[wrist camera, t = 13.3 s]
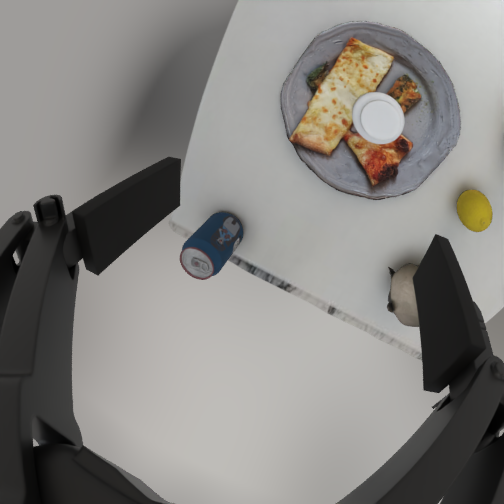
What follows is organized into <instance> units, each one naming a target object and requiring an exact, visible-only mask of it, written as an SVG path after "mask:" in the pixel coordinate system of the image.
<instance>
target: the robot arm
mask: <svg viewBox="0 0 504 504" xmlns="http://www.w3.org/2000/svg"><path fill="white" fill-rule="evenodd" d="M180 170H181V159H178V158H172V157H167V158H165V159H163V160H161V161H159V162H158V163H155V164H153V165H152V166H150V167H148V168H146V169H144V170H142V171H140V172H138V173H136V174H134V175H132V176H131V177H129V178H127V179H125V180H123V181H122V182H120V183H118V184H116V185H115V186H113V187H111V188H109V189H108V190H106V191H105V192H103V193H101V194H99V195H97V196H95V197H94V198H93V199H91V200H89V201H87V202H86V203H84V204H83V205H81V206H79V207H78V208H76V209H75V210H73V211H72V212H70V213H69V214H67V215H65V211H64V206H63V201H62V197H61V196H60V195H50V196H46V197H44V198H42V199H40V200H38V201H37V202H36V203H35V204H34V205H33V206H34V210H35V214H36V217H37V221H38V222H33V220H32V216H31V213H30V212H29V211H23V212H22V211H20V212H18V213H16V214H15V215H13V216H12V217H11V218H9V219H8V221H7V222H6V223H5V224H4V225H3V226H2V228H1V229H0V504H174V503H170V502H167V501H165V500H164V499H163V498H161V497H160V496H159V495H157V493H155V492H154V491H153V490H152V489H151V488H149V487H148V486H147V485H146V484H145V483H143V482H142V481H141V480H140V479H138V478H136V477H135V476H133V475H131V474H130V473H128V472H126V471H125V470H123V469H121V468H120V467H118V466H116V465H115V464H113V463H112V462H110V461H108V460H106V459H105V458H103V457H101V456H99V455H98V454H96V453H95V452H93V451H91V450H90V449H88V448H87V447H85V446H83V442H82V436H81V432H80V429H79V426H78V424H77V422H76V420H75V417H74V413H73V400H72V337H73V321H74V308H75V299H76V291H77V283H78V275H79V265H78V262H79V261H80V260H81V259H82V258H83V260H84V263H85V267H86V269H87V270H89V271H90V272H93V273H94V274H96V275H99V274H100V273H101V272H102V271H103V270H105V269H106V268H107V267H108V266H109V265H110V264H111V263H112V262H113V261H115V260H116V259H117V258H118V257H119V256H120V255H121V254H122V253H124V252H125V251H126V250H127V249H128V248H129V247H130V246H131V245H133V244H134V243H135V242H136V241H137V240H139V239H140V238H141V237H142V236H143V235H144V234H146V233H147V232H148V231H149V230H150V229H151V228H153V227H154V226H155V225H156V224H157V223H159V222H160V221H161V220H162V219H164V218H165V217H166V216H167V215H169V214H170V213H171V212H172V211H174V210H175V209H176V208H177V207H179V206H180ZM15 250H16V253H17V255H18V258H19V263H18V264H16V263H15V261H14V258H13V253H14V252H15ZM412 279H413V285H414V291H415V297H416V304H417V311H418V319H419V327H420V337H421V348H422V362H423V386H424V390H426V391H430V392H436V393H440V392H441V391H442V390H443V389H444V388H445V387H447V386H448V385H449V389H450V393H449V394H448V395H447V396H445V397H444V398H443V399H442V400H440V401H439V402H438V403H436V404H435V405H434V406H433V407H432V408H433V409H434V408H435V407H436V409H435V410H434V411H433V412H432V413H431V415H430V416H429V417H428V418H427V420H426V421H425V422H424V423H423V424H422V425H421V427H420V428H419V429H418V430H417V431H416V432H415V433H414V434H413V436H412V437H411V438H410V439H409V440H408V441H407V442H406V443H405V444H404V445H403V446H402V447H401V448H400V449H399V450H398V451H397V452H396V453H395V454H394V455H393V456H392V457H391V458H390V459H389V460H388V461H387V462H386V463H385V464H384V465H383V466H382V467H380V469H378V470H377V471H376V472H375V473H374V474H373V475H372V476H370V477H369V478H368V479H367V480H366V481H364V482H363V483H362V484H361V485H360V486H358V487H357V488H356V489H355V490H353V491H352V492H351V493H350V494H348V495H347V496H346V497H344V498H343V499H342V500H340V501H339V502H338V503H336V504H438V503H439V501H440V500H441V499H442V498H443V499H442V501H441V503H440V504H504V433H503V434H502V436H500V437H499V432H500V431H501V430H502V429H503V428H504V363H503V361H502V360H501V359H499V358H498V357H496V356H494V355H493V352H492V348H491V344H490V341H489V337H488V333H487V331H486V326H485V323H484V320H483V316H482V313H481V311H480V309H479V308H478V306H477V305H476V303H475V302H473V300H472V297H471V295H470V292H469V289H468V286H467V283H466V281H465V278H464V276H463V273H462V271H461V268H460V266H459V263H458V261H457V258H456V256H455V254H454V251H453V249H452V247H451V245H450V243H449V240H448V239H446V238H444V237H441V236H439V235H437V234H435V236H434V238H433V240H432V242H431V244H430V246H429V248H428V250H427V252H426V254H425V256H424V258H423V260H422V262H421V263H420V265H419V267H418V269H417V271H416V272H415V274H414V276H413V278H412ZM33 439H35V440H36V441H37V442H38V444H39V446H35V447H33ZM443 496H444V497H443Z"/></svg>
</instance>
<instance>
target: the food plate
mask: <svg viewBox="0 0 504 504" xmlns="http://www.w3.org/2000/svg"><path fill="white" fill-rule="evenodd" d="M313 40H314V41H312V42H311V43H310V46H308V49H306V50H305V52H304V53H303V55H302V56H301V58H300V59H299V61H298V62H297V64H296V65H295V67H294V68H293V69H292V70H293V71H291V73H290V75H289V77H287V79H286V80H285V81H286V83H284V84H283V88H282V91H281V110H282V114H283V119H284V122H285V128H286V134H287V137H288V139H289V141H290V142H291V143H292V144H293V146H294V148H295V150H296V152H297V154H298V156H299V157H300V159H301V160H302V161H303V162H305V163H306V165H307V167H308V168H309V169H310V170H312V171H313V172H314V173H315V174H316V175H317V176H318V177H319V178H320V179H321V180H322V181H324V182H325V183H327V184H328V185H330V186H331V187H333V188H335V189H336V190H338V191H341V192H344V193H347V194H351V195H356V196H360V197H365V198H368V199H373V200H380V199H385V197H387V198H389V197H397V196H399V195H404V194H405V193H409V192H410V191H413V190H415V189H417V187H419V186H420V184H422V183H423V182H424V180H426V179H427V178H428V176H429V175H430V174H431V173H432V172H433V171H434V170H435V169H436V168H437V167H438V166H439V164H440V163H441V162H442V161H443V160H444V159H445V158H446V156H447V155H448V154H449V151H452V148H454V147H455V146H456V144H457V140H458V138H459V135H460V129H461V118H460V109H459V105H458V101H457V97H456V93H455V90H454V88H453V87H454V86H453V83H452V81H451V80H450V78H449V76H448V74H447V73H446V71H445V70H444V68H443V66H442V65H441V63H440V62H439V61H438V60H436V58H435V57H434V56H433V55H432V54H431V53H430V52H429V51H428V50H427V49H425V48H424V47H423V46H422V45H421V44H419V43H418V42H417V41H416V40H414V39H413V38H412V37H411V36H409V35H408V34H406V33H405V32H404V31H402V30H400V29H397V28H394V27H390V26H385V25H382V24H378V23H375V22H374V23H373V22H367V21H365V22H362V21H356V22H353V21H352V22H347V23H344V24H340V25H337V26H334V27H333V28H330V29H328V30H326V31H323V32H321V33H320V34H319V35H318V37H316V39H315V38H314V39H313ZM367 92H380V93H384V94H387V95H389V96H391V97H392V98H393V99H395V100H396V101H397V102H398V104H399V105H400V107H401V108H402V111H403V113H404V118H405V124H404V128H403V131H402V133H401V134H400V136H399V137H398V138H397V139H396V140H394V141H392V142H390V143H387V144H375V143H372V142H369V141H367V140H366V139H364V138H363V137H362V136H361V135H360V134H359V133H358V131H357V130H356V128H355V126H354V123H353V119H352V107H353V104H354V102H355V100H356V99H357V98H358V97H359V96H360V95H362V94H364V93H367Z"/></svg>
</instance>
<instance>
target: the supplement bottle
mask: <svg viewBox="0 0 504 504" xmlns="http://www.w3.org/2000/svg"><path fill="white" fill-rule="evenodd" d="M352 119H353V123H354V126H355V128H356V130H357V131H358V133H359V134H360V135H361V136H362V137H363V138H364V139H366V140H367V141H369V142H372V143H375V144H387V143H390V142H392V141H394V140H396V139H397V138H398V137H399V136H400V134H401V133H402V131H403V128H404V124H405V118H404V113H403V111H402V108H401V107H400V105H399V104H398V102H397V101H396V100H395V99H393V98H392V97H391V96H389V95H387V94H384V93H380V92H367V93H364V94H362V95H360V96H359V97H358V98H357V99H356V100H355V102H354V104H353V107H352Z"/></svg>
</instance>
